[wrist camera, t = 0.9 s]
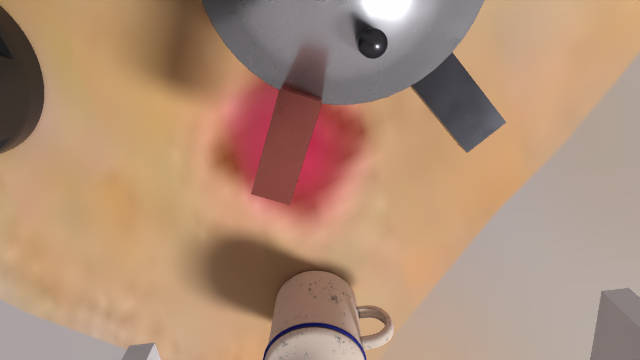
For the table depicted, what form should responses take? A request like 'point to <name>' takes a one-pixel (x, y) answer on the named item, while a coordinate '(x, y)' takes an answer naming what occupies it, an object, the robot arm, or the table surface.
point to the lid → (332, 61)
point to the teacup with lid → (322, 321)
